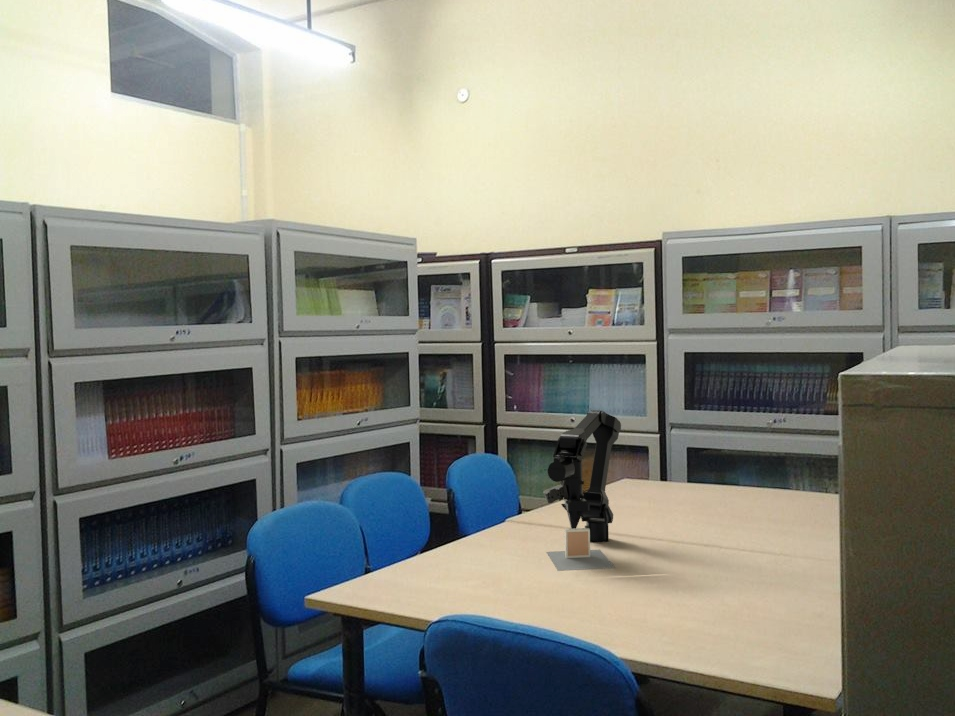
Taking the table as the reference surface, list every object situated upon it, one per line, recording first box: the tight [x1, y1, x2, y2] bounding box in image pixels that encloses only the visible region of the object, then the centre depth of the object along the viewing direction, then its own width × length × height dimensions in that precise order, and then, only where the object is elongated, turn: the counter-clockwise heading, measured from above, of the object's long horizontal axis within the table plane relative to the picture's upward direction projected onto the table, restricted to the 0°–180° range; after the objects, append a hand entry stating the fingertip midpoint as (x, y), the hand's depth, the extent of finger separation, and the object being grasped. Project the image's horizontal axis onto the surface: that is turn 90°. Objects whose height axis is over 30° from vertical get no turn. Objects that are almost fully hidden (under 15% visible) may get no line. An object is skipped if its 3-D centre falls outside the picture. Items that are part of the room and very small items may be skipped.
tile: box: [564, 527, 591, 558], centre depth 247 cm, size 7×2×8 cm, turn 95°
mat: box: [545, 549, 617, 572], centre depth 244 cm, size 16×20×1 cm
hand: (573, 529), depth 252 cm, fingers closed
